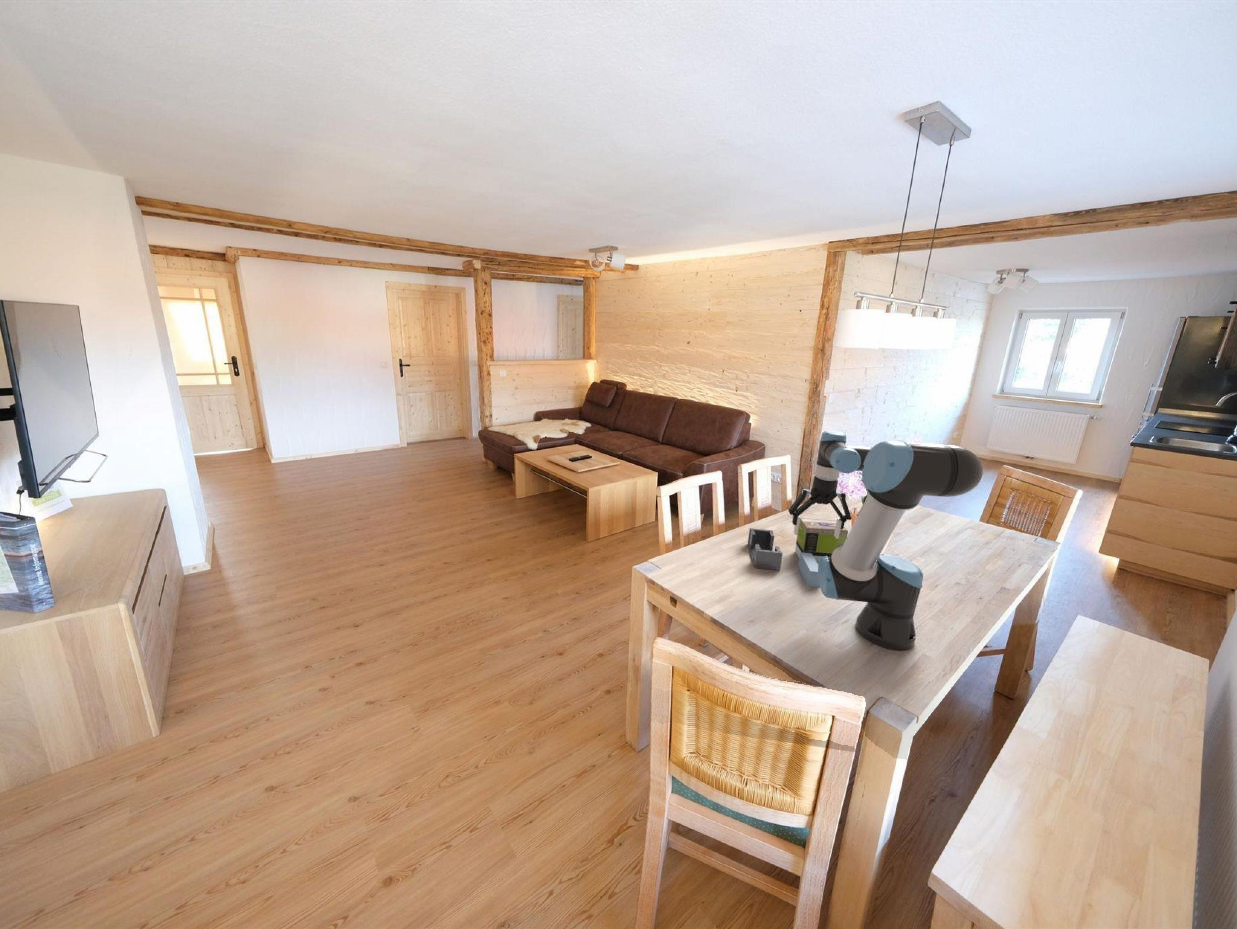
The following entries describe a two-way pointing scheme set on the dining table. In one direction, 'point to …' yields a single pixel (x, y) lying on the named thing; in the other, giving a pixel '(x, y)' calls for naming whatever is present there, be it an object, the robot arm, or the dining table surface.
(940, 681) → the dining table surface
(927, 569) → the dining table surface
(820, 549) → the tea box
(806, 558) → the blue-grey block
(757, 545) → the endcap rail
